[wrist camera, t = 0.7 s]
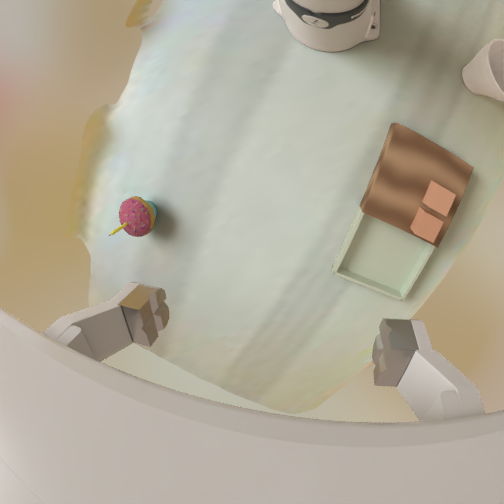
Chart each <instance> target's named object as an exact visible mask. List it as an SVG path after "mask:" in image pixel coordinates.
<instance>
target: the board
mask: <svg viewBox="0 0 504 504" xmlns="http://www.w3.org/2000/svg"><path fill="white" fill-rule="evenodd" d="M472 171H473V167H472V166H470V165H469V164H467V163H466V162H464V161H463V160H461V159H460V158H458V157H457V156H455V155H454V154H452V153H450V152H449V151H447V150H445V149H444V148H442V147H441V146H439V145H437V144H435V143H434V142H432V141H430V140H428V139H427V138H425V137H423V136H421V135H419V134H418V133H416V132H414V131H412V130H410V129H408V128H406V127H404V126H402V125H400V124H398V123H392V124H391V126H390V129H389V132H388V135H387V138H386V141H385V143H384V146H383V149H382V151H381V154H380V157H379V159H378V162H377V165H376V167H375V170H374V172H373V175H372V177H371V180H370V182H369V185H368V187H367V190H366V192H365V194H364V197H363V199H362V202H361V204H360V208H361V210H362V212H363V213H365V214H368V215H370V216H372V217H375V218H377V219H379V220H381V221H384V222H386V223H388V224H390V225H392V226H394V227H397V228H399V229H401V230H403V231H405V232H407V233H409V234H411V235H413V236H416V237H418V238H420V239H422V240H424V241H426V242H428V243H430V244H432V245H434V246H436V247H438V246H439V244H440V242H441V240H442V238H443V236H444V234H445V232H446V230H447V228H448V226H449V224H450V222H451V220H452V218H453V216H454V214H455V212H456V209H457V207H458V205H459V203H460V200H461V198H462V196H463V193H464V191H465V188H466V186H467V184H468V181H469V178H470V176H471V173H472ZM431 180H432V181H433V182H435V183H437V184H439V185H440V186H442V187H444V188H445V189H447V190H449V191H451V192H452V193H454V194H455V195H456V196H455V199H454V201H453V203H452V206H451V208H450V210H449V212H448V214H447V216H444V215H442V214H441V213H439V212H437V211H435V210H433V209H432V208H430V207H428V206H427V205H426V204H424V203H423V202H422V201H423V199H424V196H425V194H426V192H427V189H428V187H429V184H430V182H431ZM419 207H421V208H423V209H425V210H427V211H429V212H430V213H432V214H434V215H436V216H438V217H439V218H440V219H441V220H442V221H443V222H444V223H443V225H442V227H441V229H440V231H439V233H438V235H437V237H436V239H435V241H434V243H432V242H430V241H428V240H426V239H424V238H422V237H420V236H418V235H416V234H414V232H413V231H412V230H411V228H410V227H411V225H412V222H413V220H414V218H415V216H416V214H417V212H418V210H419Z"/></svg>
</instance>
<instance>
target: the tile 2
mask: <svg viewBox="0 0 504 504" xmlns="http://www.w3.org/2000/svg"><path fill="white" fill-rule="evenodd" d="M455 196H456V195H455V194H454V193H452V192H451V191H449V190H447V189H445V188H444V187H442V186H440V185H439V184H437V183H435V182H433V181H432V180H431V182H430V184H429V187H428V189H427V192H426V194H425V196H424V199H423V201H422V202H423V203H424V204H426V205H427V206H428V207H430V208H432V209H433V210H435V211H437V212H439V213H441V214H442V215H444V216H447V214H448V212H449V210H450V208H451V206H452V203H453V201H454V199H455Z"/></svg>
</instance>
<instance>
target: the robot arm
mask: <svg viewBox="0 0 504 504" xmlns="http://www.w3.org/2000/svg"><path fill="white" fill-rule="evenodd" d="M273 8H274V10H275V11H276V12H277V13H278V14H279V15H280V16H281V17H282V18H283V19H284V21H285V23H286V26H287V28H288V30H289V31H290V33H291V34H292V35H293V36H294V37H295V38H296V39H297V40H298V41H300V42H301V43H303V44H304V45H306V46H308V47H310V48H313V49H316V50H320V51H327V52H336V51H343V50H346V49H349V48H352V47H353V46H355V45H357V44H358V43H360V42H362V41H369V40H375V39H377V38H378V37H379V33H380V0H275V2H274V3H273ZM371 26H373V27H374V28H375V29H372V28H371ZM165 299H166V294H165V290H163V289H162V288H158V287H154V286H149V285H145V284H140V283H135V282H130V283H128V284H127V285H126V286H125V287H124V288H123V289H122V290H121V291H120V292H118V293H117V294H116V295H115V296H114V297H113V298H112V299H111V300H110V301H109V302H106V301H105V302H102V303H100V304H97V305H94V306H91V307H88V308H86V309H83V310H80V311H77V312H75V313H72V314H69V315H66V316H63V317H61V318H59V319H58V320H57V321H55V322H54V323H53V324H52V325H51V326H50V327H49V328H48V329H47V330H46V331H45V332H44V333H41V332H40V331H38V330H36V329H34V328H33V327H31V326H29V325H28V324H26V323H24V322H23V321H21V320H19V319H18V318H16V317H14V316H13V315H12V314H10V313H9V312H7V311H6V310H4V309H3V308H1V307H0V504H504V410H502V411H497V412H492V413H487V414H485V411H484V407H483V404H482V400H481V397H480V394H479V391H478V388H477V387H476V386H475V385H474V384H473V383H472V382H471V381H470V380H469V379H468V378H466V377H465V376H464V375H463V374H462V373H461V372H460V371H459V370H458V369H457V368H456V367H454V366H453V365H452V364H451V363H450V362H449V361H448V360H447V359H445V358H444V357H443V356H442V355H441V354H440V353H439V352H438V351H433V349H432V346H431V343H430V339H429V337H428V334H427V331H426V328H425V325H424V322H423V321H422V320H415V319H413V320H412V319H409V320H404V319H389V318H383V319H382V321H381V324H380V327H379V328H380V334H379V335H377V336H376V339H375V342H374V346H373V353H372V358H373V362H374V364H375V365H376V366H375V369H374V383H375V385H377V386H395V387H397V389H398V391H399V392H400V393H401V395H402V396H403V397H404V399H405V400H406V402H407V403H408V405H409V406H410V407H411V409H412V411H413V412H414V413H415V415H416V416H417V418H418V419H419V420H420V421H419V422H403V423H402V422H401V423H367V422H345V421H330V420H319V419H309V418H301V417H294V416H287V415H280V414H273V413H267V412H262V411H257V410H251V409H246V408H242V407H237V406H232V405H228V404H224V403H220V402H215V401H211V400H208V399H204V398H200V397H196V396H193V395H189V394H186V393H183V392H180V391H176V390H173V389H170V388H167V387H163V386H161V385H158V384H155V383H152V382H149V381H146V380H143V379H141V378H138V377H136V376H133V375H130V374H128V373H125V372H123V371H120V370H118V369H115V368H113V367H110V366H108V365H106V364H103V363H101V361H102V360H104V359H106V358H108V357H109V356H111V355H113V354H115V353H116V352H118V351H120V350H122V349H123V348H125V347H127V346H129V345H130V344H132V343H133V342H134V343H138V344H142V345H145V346H149V347H151V345H152V344H153V343H154V341H155V340H156V339H157V337H158V331H161V330H163V329H164V328H165V327H166V325H167V323H168V320H169V308H168V306H167V305H166V303H165V302H164V301H165Z"/></svg>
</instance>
